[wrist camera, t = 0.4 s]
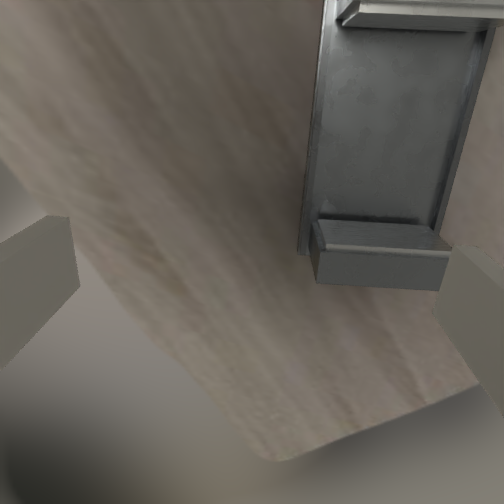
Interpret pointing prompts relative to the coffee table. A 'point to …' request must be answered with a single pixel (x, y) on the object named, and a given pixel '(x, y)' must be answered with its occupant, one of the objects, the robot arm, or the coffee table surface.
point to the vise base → (386, 150)
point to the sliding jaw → (423, 14)
